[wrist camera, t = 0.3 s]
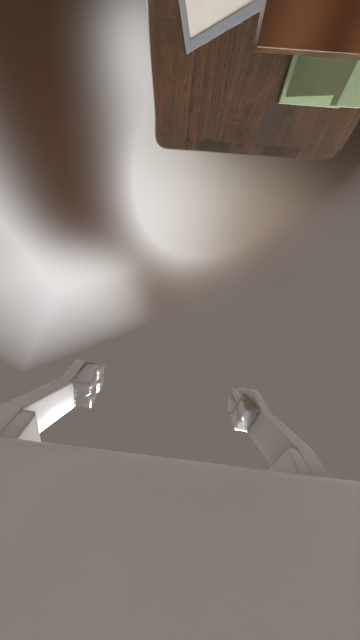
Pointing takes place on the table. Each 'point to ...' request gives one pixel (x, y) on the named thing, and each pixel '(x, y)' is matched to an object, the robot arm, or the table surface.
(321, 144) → the table surface
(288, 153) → the table surface
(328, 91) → the stand
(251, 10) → the whiteboard
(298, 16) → the mallet
